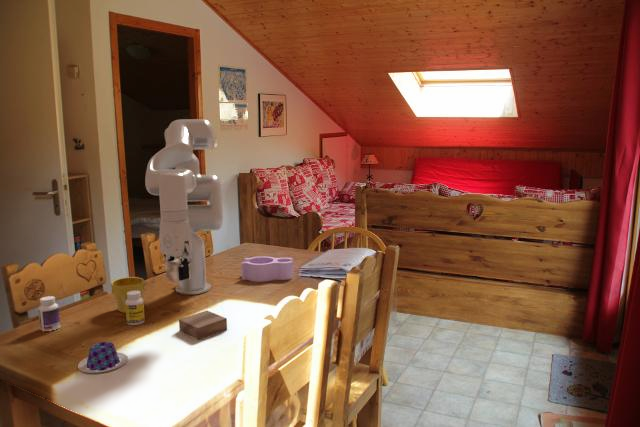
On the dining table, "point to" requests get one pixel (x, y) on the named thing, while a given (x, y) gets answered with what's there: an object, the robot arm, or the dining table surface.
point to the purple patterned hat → (102, 358)
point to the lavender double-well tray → (267, 269)
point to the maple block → (173, 270)
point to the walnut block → (203, 325)
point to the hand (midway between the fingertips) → (178, 276)
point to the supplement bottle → (134, 308)
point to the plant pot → (125, 289)
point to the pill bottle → (49, 314)
